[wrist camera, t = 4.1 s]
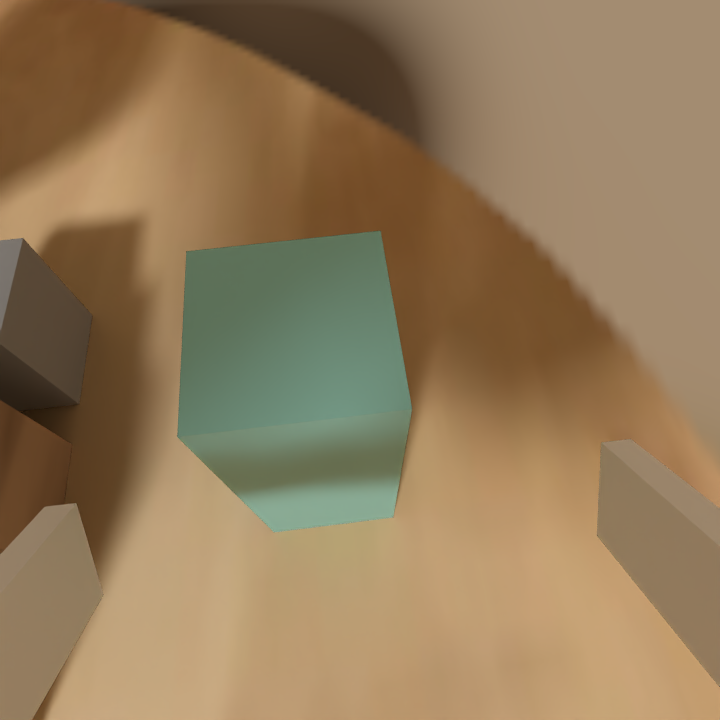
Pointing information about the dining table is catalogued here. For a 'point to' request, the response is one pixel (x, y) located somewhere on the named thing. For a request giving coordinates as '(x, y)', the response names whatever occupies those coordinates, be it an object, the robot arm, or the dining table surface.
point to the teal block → (296, 378)
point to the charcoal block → (39, 332)
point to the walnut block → (28, 471)
